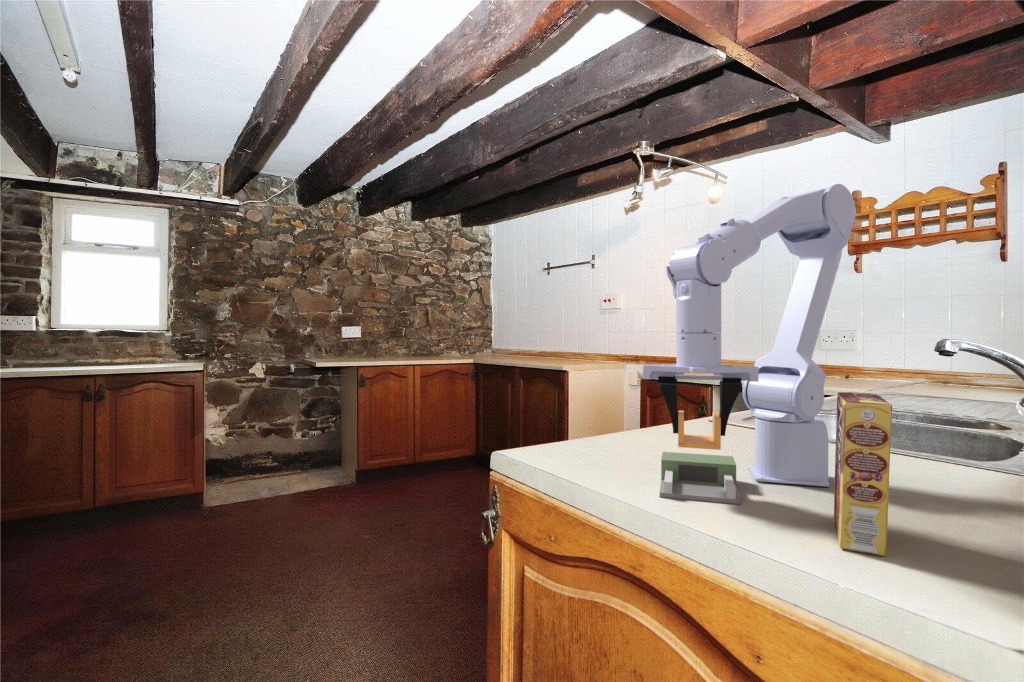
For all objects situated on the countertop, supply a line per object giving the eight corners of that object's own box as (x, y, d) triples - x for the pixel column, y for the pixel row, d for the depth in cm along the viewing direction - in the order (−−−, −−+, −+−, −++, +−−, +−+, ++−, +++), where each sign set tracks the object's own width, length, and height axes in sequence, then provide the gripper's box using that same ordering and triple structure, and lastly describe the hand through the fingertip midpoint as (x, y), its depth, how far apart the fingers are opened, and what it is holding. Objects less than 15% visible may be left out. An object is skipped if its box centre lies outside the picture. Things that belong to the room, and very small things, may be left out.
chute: (717, 440, 72) (717, 412, 71) (720, 449, 66) (720, 418, 66) (678, 438, 73) (678, 410, 73) (678, 447, 68) (678, 417, 68)
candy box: (891, 559, 50) (893, 403, 50) (839, 550, 52) (840, 400, 52) (878, 527, 58) (879, 392, 58) (833, 520, 60) (834, 390, 60)
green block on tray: (732, 479, 76) (732, 456, 76) (740, 504, 66) (740, 477, 66) (662, 474, 79) (662, 451, 79) (659, 496, 69) (659, 471, 69)
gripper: (640, 333, 68) (641, 436, 68) (762, 333, 63) (761, 442, 64) (644, 332, 75) (645, 426, 75) (754, 332, 70) (754, 431, 70)
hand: (698, 433), depth 70 cm, fingers closed on chute, 5 cm apart
